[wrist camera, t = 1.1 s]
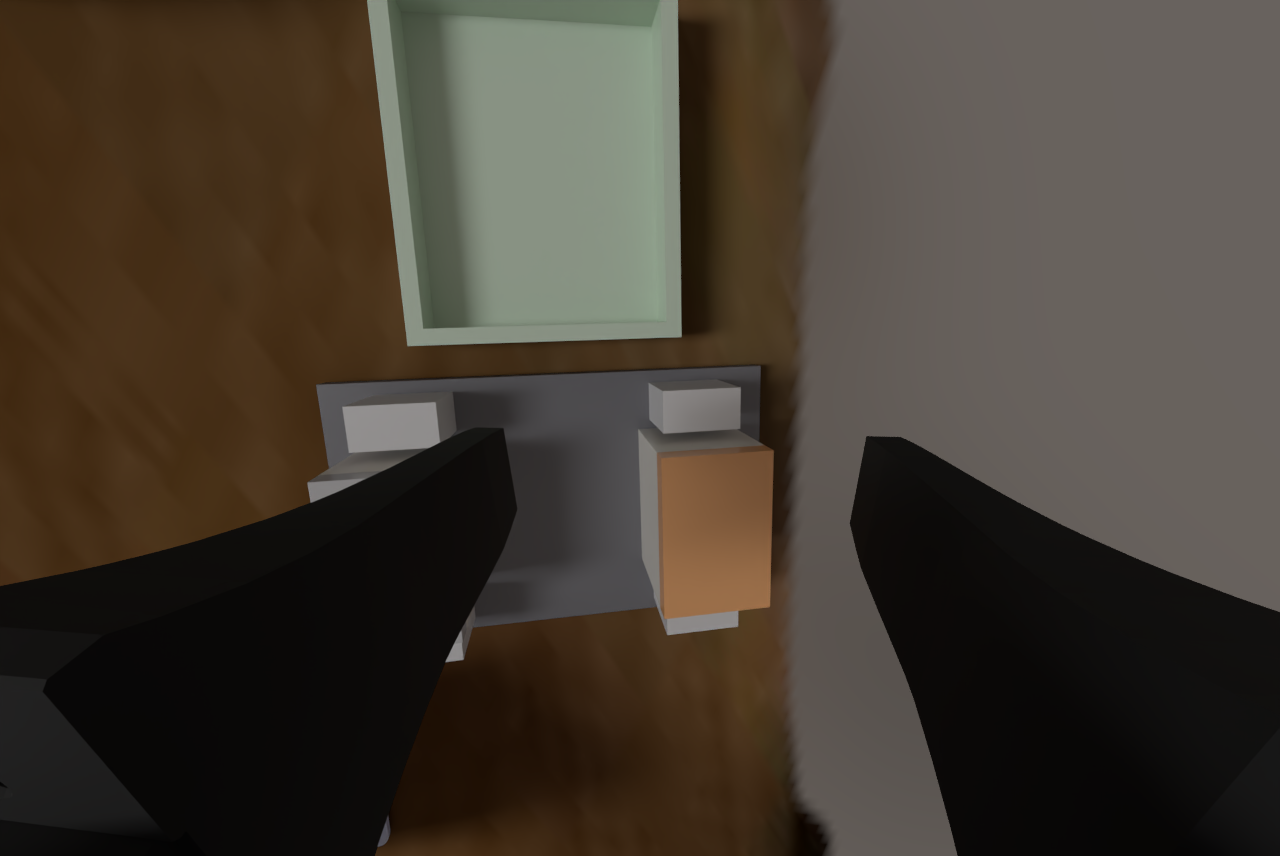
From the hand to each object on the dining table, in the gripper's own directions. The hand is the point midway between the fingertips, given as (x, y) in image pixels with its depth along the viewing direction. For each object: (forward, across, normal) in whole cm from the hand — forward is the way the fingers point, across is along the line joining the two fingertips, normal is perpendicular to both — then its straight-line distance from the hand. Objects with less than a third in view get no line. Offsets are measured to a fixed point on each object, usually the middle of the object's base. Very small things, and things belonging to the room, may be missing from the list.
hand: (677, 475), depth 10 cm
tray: (+13, +6, -5) cm, 15 cm away
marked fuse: (+10, 0, +8) cm, 13 cm away
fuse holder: (+10, +6, +7) cm, 13 cm away
